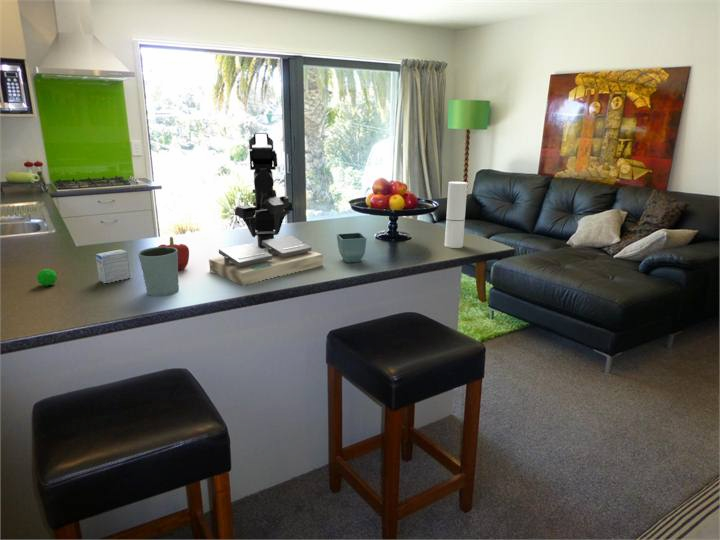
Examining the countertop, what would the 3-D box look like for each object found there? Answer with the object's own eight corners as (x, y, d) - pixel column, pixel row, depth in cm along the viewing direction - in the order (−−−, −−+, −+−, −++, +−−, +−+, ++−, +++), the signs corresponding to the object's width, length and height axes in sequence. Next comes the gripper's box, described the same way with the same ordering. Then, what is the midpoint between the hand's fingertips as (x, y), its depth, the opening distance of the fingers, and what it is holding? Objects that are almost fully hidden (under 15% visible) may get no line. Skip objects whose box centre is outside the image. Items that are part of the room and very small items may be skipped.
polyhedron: (36, 285, 143) (33, 269, 142) (55, 281, 146) (53, 266, 145) (40, 289, 140) (37, 273, 138) (60, 285, 143) (57, 270, 142)
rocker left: (218, 253, 154) (218, 248, 154) (251, 246, 162) (251, 242, 162) (239, 266, 147) (239, 262, 146) (272, 259, 155) (272, 254, 154)
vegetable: (157, 266, 163) (154, 237, 160) (190, 263, 166) (187, 234, 163) (156, 275, 153) (153, 244, 150) (191, 272, 157) (188, 242, 154)
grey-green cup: (186, 285, 144) (182, 246, 140) (174, 297, 134) (170, 255, 131) (151, 285, 143) (146, 246, 140) (137, 297, 134) (132, 255, 130)
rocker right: (261, 244, 165) (261, 240, 164) (290, 239, 173) (290, 235, 173) (282, 257, 158) (282, 253, 157) (311, 251, 166) (311, 246, 165)
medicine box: (124, 275, 153) (121, 248, 150) (131, 278, 150) (128, 251, 147) (98, 281, 147) (94, 253, 144) (105, 284, 144) (101, 256, 141)
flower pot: (342, 264, 166) (342, 239, 164) (336, 258, 175) (336, 233, 172) (366, 263, 169) (367, 238, 166) (359, 256, 177) (360, 232, 174)
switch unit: (210, 271, 158) (208, 251, 156) (287, 254, 179) (286, 236, 177) (243, 285, 144) (241, 264, 142) (322, 265, 165) (322, 246, 163)
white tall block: (461, 243, 197) (466, 181, 190) (463, 248, 190) (468, 183, 183) (443, 243, 198) (447, 181, 190) (445, 247, 191) (449, 183, 183)
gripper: (251, 193, 142) (254, 244, 147) (302, 187, 154) (303, 234, 159) (232, 188, 150) (235, 237, 155) (282, 182, 162) (284, 228, 167)
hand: (266, 234), depth 159 cm, fingers open, 9 cm apart
